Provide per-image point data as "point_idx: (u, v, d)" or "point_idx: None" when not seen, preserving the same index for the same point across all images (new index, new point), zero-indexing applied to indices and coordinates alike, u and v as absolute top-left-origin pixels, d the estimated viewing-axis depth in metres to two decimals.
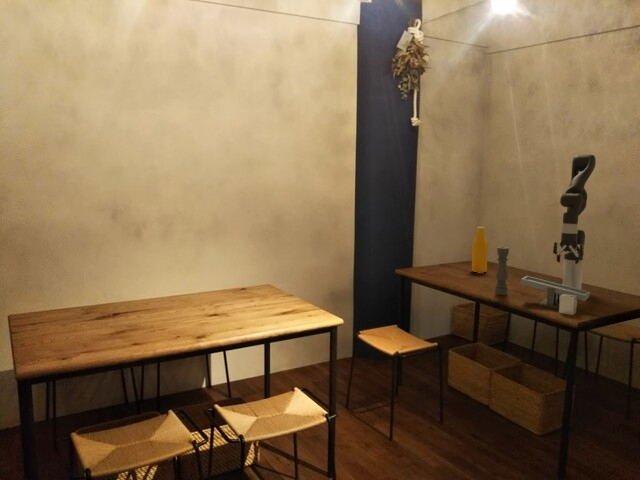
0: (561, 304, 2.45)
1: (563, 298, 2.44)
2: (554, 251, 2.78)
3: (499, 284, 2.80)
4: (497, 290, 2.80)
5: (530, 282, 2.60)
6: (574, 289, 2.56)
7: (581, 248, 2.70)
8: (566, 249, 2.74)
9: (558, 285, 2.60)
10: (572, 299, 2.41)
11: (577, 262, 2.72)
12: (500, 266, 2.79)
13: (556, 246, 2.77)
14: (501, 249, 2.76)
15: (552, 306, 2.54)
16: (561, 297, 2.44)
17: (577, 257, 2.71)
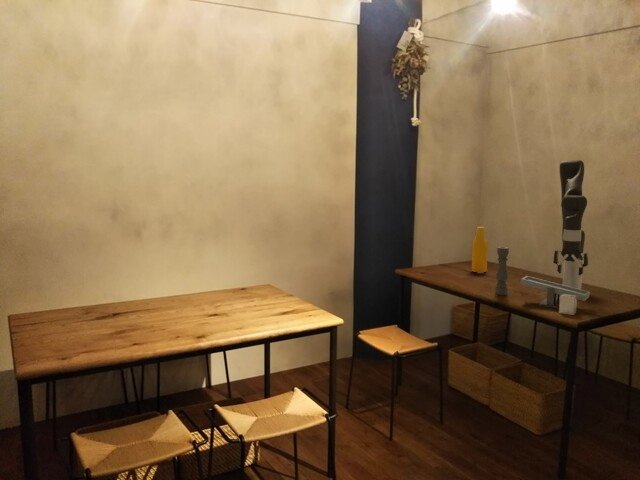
0: (561, 304, 2.45)
1: (563, 298, 2.44)
2: (555, 261, 2.46)
3: (499, 284, 2.80)
4: (497, 290, 2.80)
5: (530, 282, 2.60)
6: (574, 289, 2.56)
7: (585, 257, 2.38)
8: (568, 258, 2.42)
9: (558, 285, 2.60)
10: (572, 299, 2.41)
11: (581, 273, 2.40)
12: (500, 266, 2.79)
13: (557, 255, 2.45)
14: (501, 249, 2.76)
15: (552, 306, 2.54)
16: (561, 297, 2.44)
17: (581, 268, 2.40)
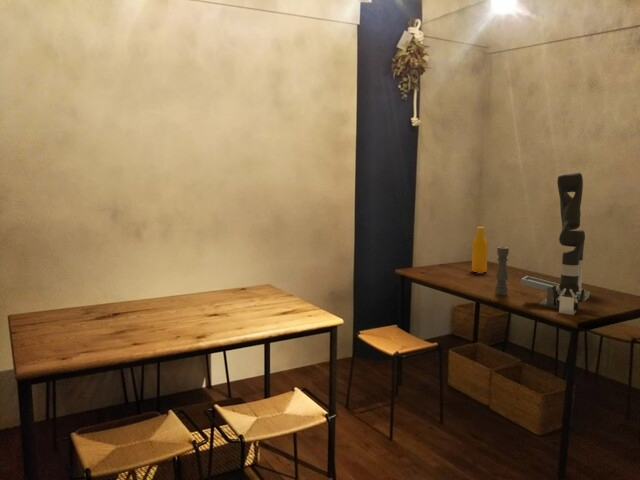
0: (561, 304, 2.45)
1: (563, 298, 2.44)
2: (555, 296, 2.48)
3: (499, 284, 2.80)
4: (497, 290, 2.80)
5: (530, 282, 2.60)
6: None
7: (582, 294, 2.40)
8: (567, 292, 2.44)
9: (558, 285, 2.60)
10: (572, 299, 2.41)
11: (576, 308, 2.43)
12: (500, 266, 2.79)
13: (556, 290, 2.47)
14: (501, 249, 2.76)
15: (552, 306, 2.54)
16: (561, 297, 2.44)
17: (576, 303, 2.43)
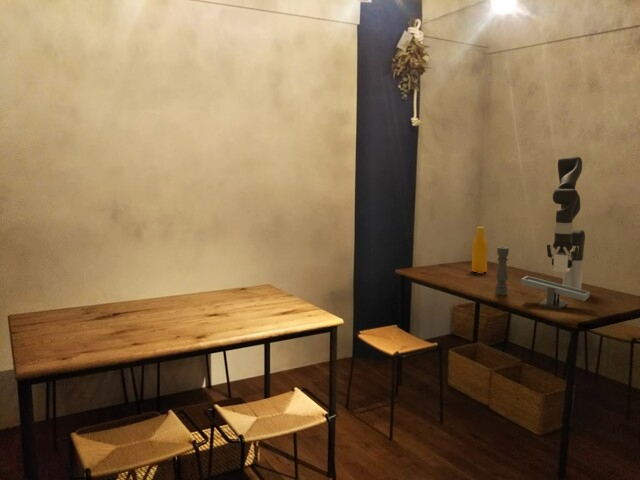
0: (555, 262, 2.47)
1: (557, 256, 2.46)
2: (549, 254, 2.50)
3: (499, 284, 2.80)
4: (497, 290, 2.80)
5: (530, 282, 2.60)
6: (574, 289, 2.56)
7: (576, 251, 2.43)
8: (561, 250, 2.47)
9: (558, 285, 2.60)
10: (566, 256, 2.44)
11: (570, 266, 2.46)
12: (500, 266, 2.79)
13: (550, 248, 2.50)
14: (501, 249, 2.76)
15: (552, 306, 2.54)
16: (555, 255, 2.47)
17: (570, 260, 2.45)
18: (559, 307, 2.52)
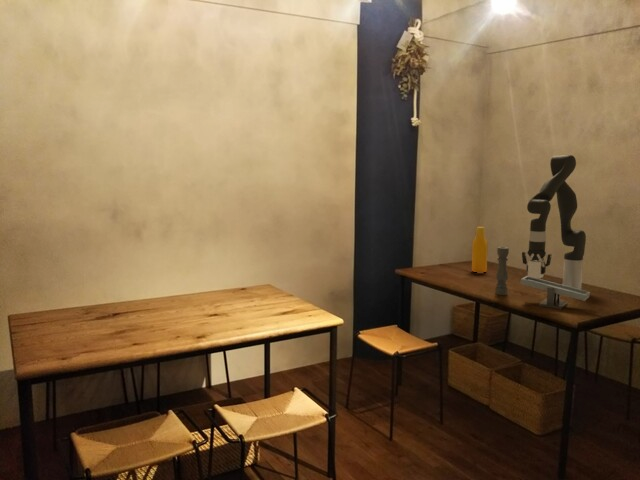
0: (529, 268, 2.62)
1: (531, 262, 2.61)
2: (524, 261, 2.65)
3: (499, 284, 2.80)
4: (497, 290, 2.80)
5: (530, 282, 2.60)
6: (574, 289, 2.56)
7: (548, 258, 2.57)
8: (535, 257, 2.61)
9: (558, 285, 2.60)
10: (539, 263, 2.58)
11: (543, 272, 2.60)
12: (500, 266, 2.79)
13: (524, 255, 2.65)
14: (501, 249, 2.76)
15: (552, 306, 2.54)
16: (529, 262, 2.61)
17: (543, 267, 2.60)
18: (559, 307, 2.52)
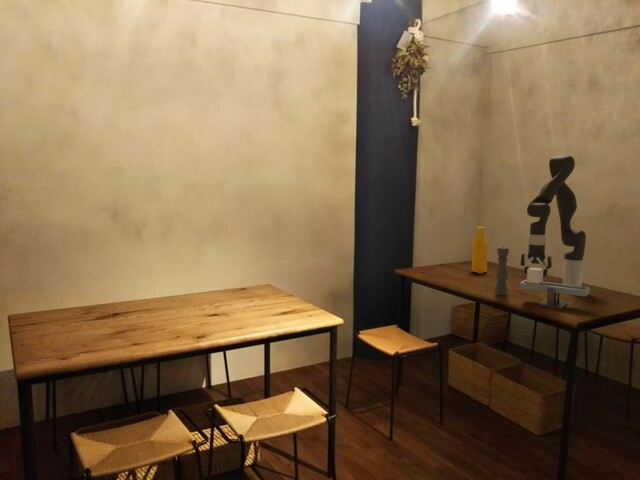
0: (528, 277, 2.62)
1: (529, 271, 2.62)
2: (521, 263, 2.65)
3: (499, 284, 2.80)
4: (497, 290, 2.80)
5: (529, 285, 2.61)
6: (574, 286, 2.56)
7: (549, 260, 2.57)
8: (534, 261, 2.61)
9: (557, 285, 2.60)
10: (538, 272, 2.59)
11: (545, 275, 2.59)
12: (500, 266, 2.79)
13: (523, 258, 2.65)
14: (501, 249, 2.76)
15: (552, 306, 2.54)
16: (528, 270, 2.62)
17: (545, 269, 2.59)
18: (559, 307, 2.52)
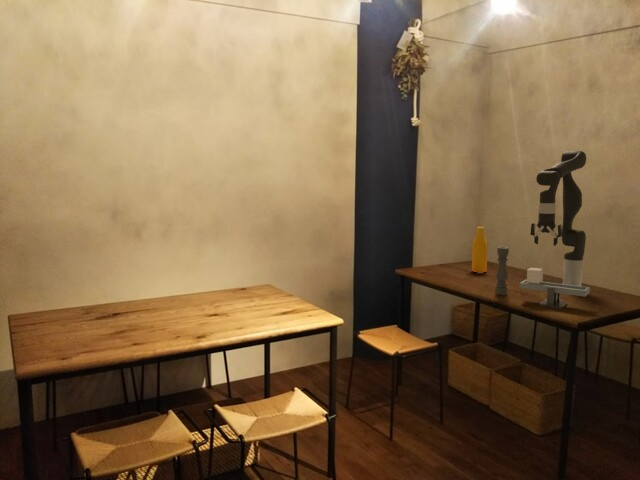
0: (528, 277, 2.62)
1: (529, 271, 2.62)
2: (531, 232, 2.63)
3: (499, 284, 2.80)
4: (497, 290, 2.80)
5: (529, 285, 2.61)
6: (574, 286, 2.56)
7: (559, 229, 2.55)
8: (544, 230, 2.60)
9: (557, 285, 2.60)
10: (538, 272, 2.59)
11: (555, 243, 2.57)
12: (500, 266, 2.79)
13: (533, 227, 2.63)
14: (501, 249, 2.76)
15: (552, 306, 2.54)
16: (528, 270, 2.62)
17: (555, 238, 2.57)
18: (559, 307, 2.52)
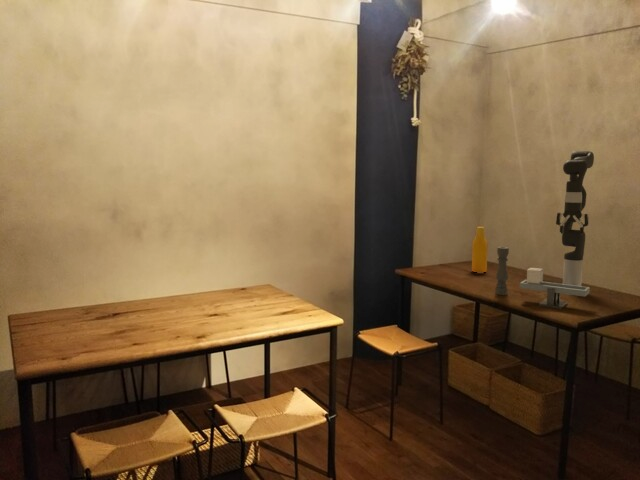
0: (528, 277, 2.62)
1: (529, 271, 2.62)
2: (557, 222, 2.63)
3: (499, 284, 2.80)
4: (497, 290, 2.80)
5: (529, 285, 2.61)
6: (574, 286, 2.56)
7: (586, 218, 2.55)
8: (570, 219, 2.59)
9: (557, 285, 2.60)
10: (538, 272, 2.59)
11: (582, 233, 2.57)
12: (500, 266, 2.79)
13: (559, 216, 2.62)
14: (501, 249, 2.76)
15: (552, 306, 2.54)
16: (528, 270, 2.62)
17: (581, 227, 2.57)
18: (559, 307, 2.52)
